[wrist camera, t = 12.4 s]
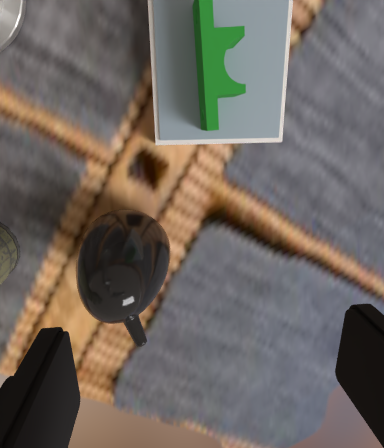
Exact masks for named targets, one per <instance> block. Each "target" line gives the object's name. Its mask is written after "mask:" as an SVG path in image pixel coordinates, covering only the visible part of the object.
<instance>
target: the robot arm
mask: <svg viewBox="0 0 384 448" xmlns="http://www.w3.org/2000/svg"><path fill="white" fill-rule="evenodd" d="M25 12H26V0H0V52H1V51H2V50H3V49H5V48H6V47H7V46H8V45H10V44H11V42H12V41H13V40H14V39H15V37H16V36H17V35H18V32H19V30H20V28H21V26H22V24H23V20H24V16H25ZM335 373H336V378H337V380H338V382H339V383H340V385H341V386H342V388H343V389H344V391H345V392H346V394H347V395H348V396H349V398H350V399H351V401H352V402H353V404H354V405H355V407H356V408H357V410H358V411H359V413H360V414H361V416H362V417H363V418H364V420H365V421H366V423H367V424H368V426H369V427H370V429H371V430H372V431H373V433H374V434H375V436H376V437H377V439H378V440H379V442H380V443H381V445H382V446H383V448H384V315H383V314H382V313H381V312H379V311H378V310H377V309H376V308H375V307H374V306H372V305H371V304H357V305H351V306H350V308H349V309H348V310H347V311H346V313H345V318H344V323H343V329H342V335H341V341H340V346H339V352H338V358H337V363H336V369H335ZM79 406H80V392H79V386H78V381H77V375H76V370H75V364H74V359H73V353H72V348H71V342H70V337H69V333H68V332H67V331H64V332H63V329H62V328H61V327H55V328H43V329H41V330H40V331H39V333H38V335H37V337H36V338H35V340H34V342H33V343H32V345H31V347H30V349H29V350H28V352H27V354H26V355H25V357H24V359H23V361H22V362H21V364H20V366H19V367H18V369H17V371H16V373H15V374H14V376H10V377H8V378H7V379H6V380H5V382H4V383H3V385H2V386H1V388H0V448H68V445H69V441H70V438H71V434H72V431H73V427H74V424H75V420H76V417H77V413H78V410H79Z"/></svg>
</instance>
